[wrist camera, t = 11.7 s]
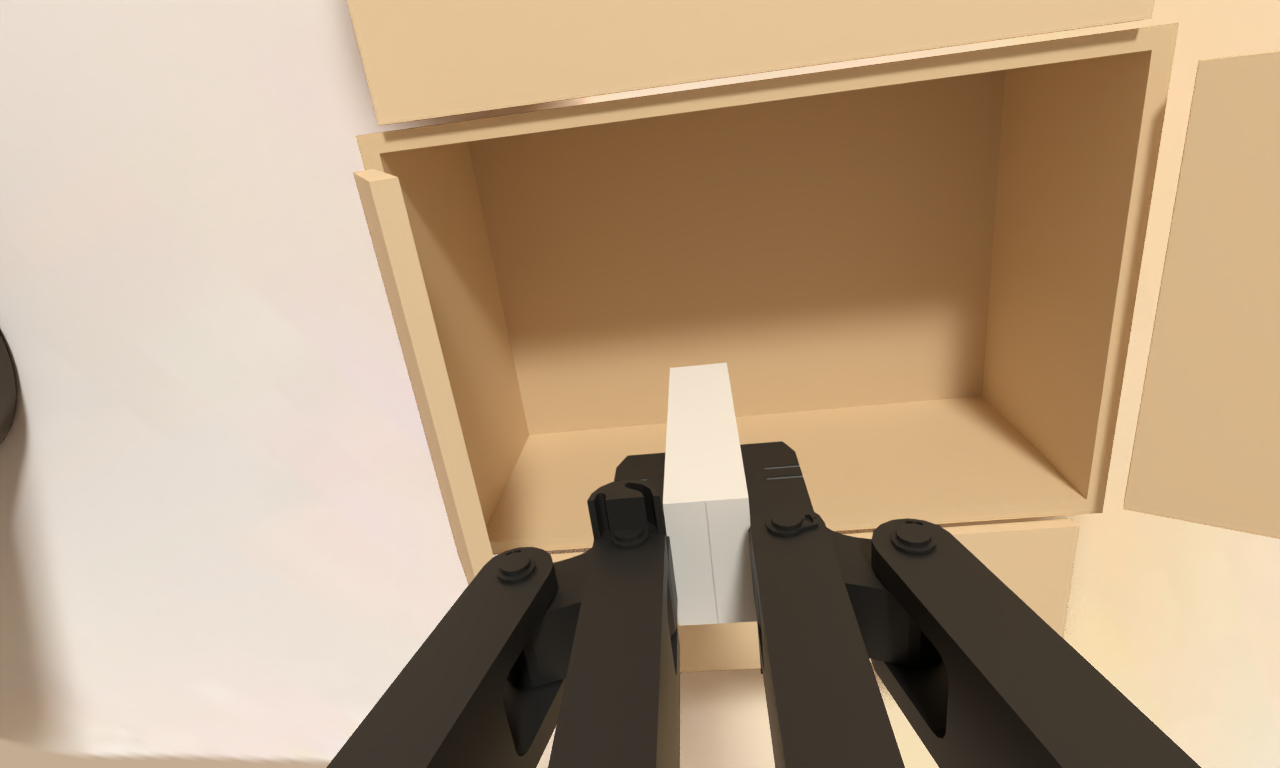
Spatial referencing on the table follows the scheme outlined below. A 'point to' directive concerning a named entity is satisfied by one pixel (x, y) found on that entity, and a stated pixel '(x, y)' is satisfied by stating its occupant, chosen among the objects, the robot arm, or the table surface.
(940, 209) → the carton
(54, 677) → the table surface
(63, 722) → the table surface
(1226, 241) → the flap
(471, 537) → the flap
